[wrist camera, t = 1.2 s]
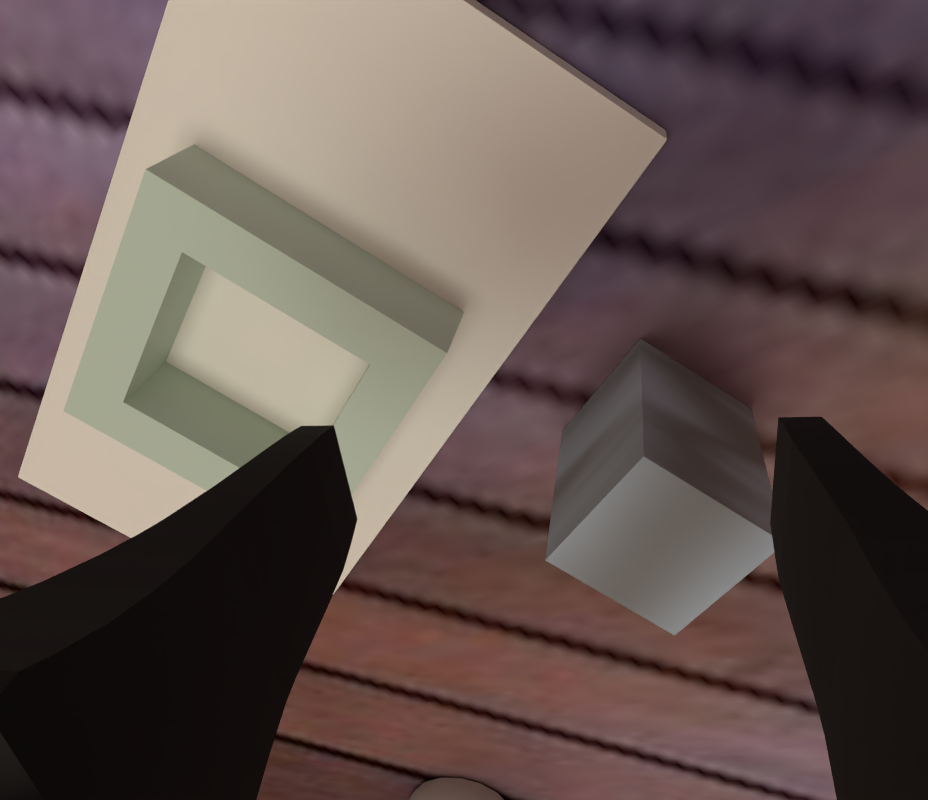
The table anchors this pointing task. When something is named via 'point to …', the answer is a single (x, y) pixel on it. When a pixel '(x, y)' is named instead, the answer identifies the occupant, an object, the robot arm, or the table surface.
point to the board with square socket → (321, 246)
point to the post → (660, 491)
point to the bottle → (454, 790)
